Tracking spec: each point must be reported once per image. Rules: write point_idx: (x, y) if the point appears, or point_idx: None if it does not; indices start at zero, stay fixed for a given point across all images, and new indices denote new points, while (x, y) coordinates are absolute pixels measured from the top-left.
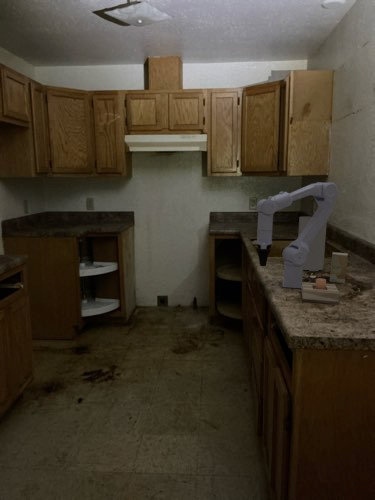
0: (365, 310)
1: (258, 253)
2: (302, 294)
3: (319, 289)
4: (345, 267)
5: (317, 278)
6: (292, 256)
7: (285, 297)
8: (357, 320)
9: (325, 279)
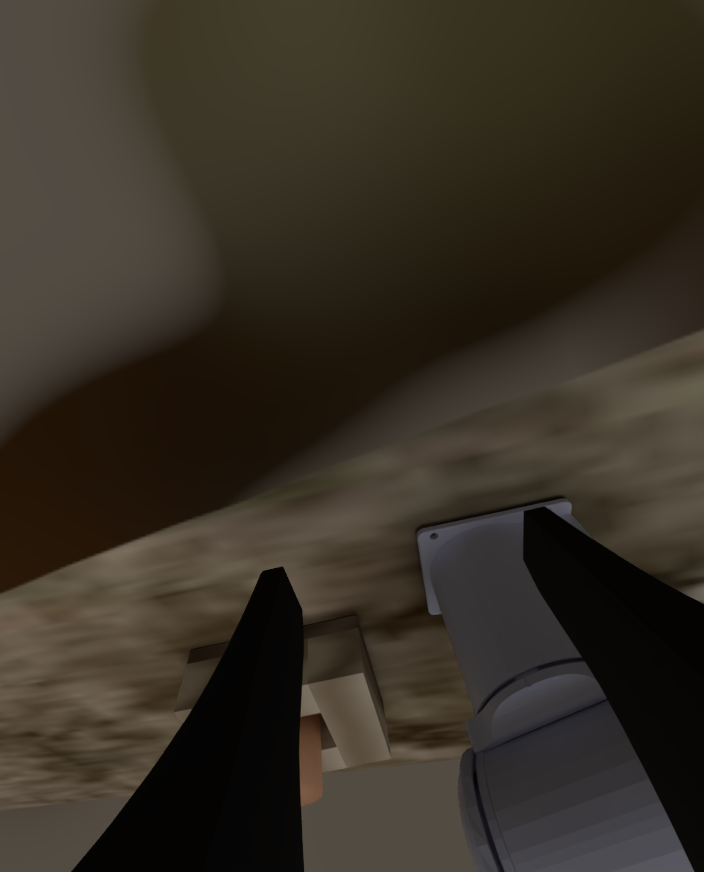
0: None
1: (129, 809)
2: None
3: None
4: None
5: (309, 784)
6: (475, 852)
7: (210, 583)
8: (100, 781)
9: (307, 803)
